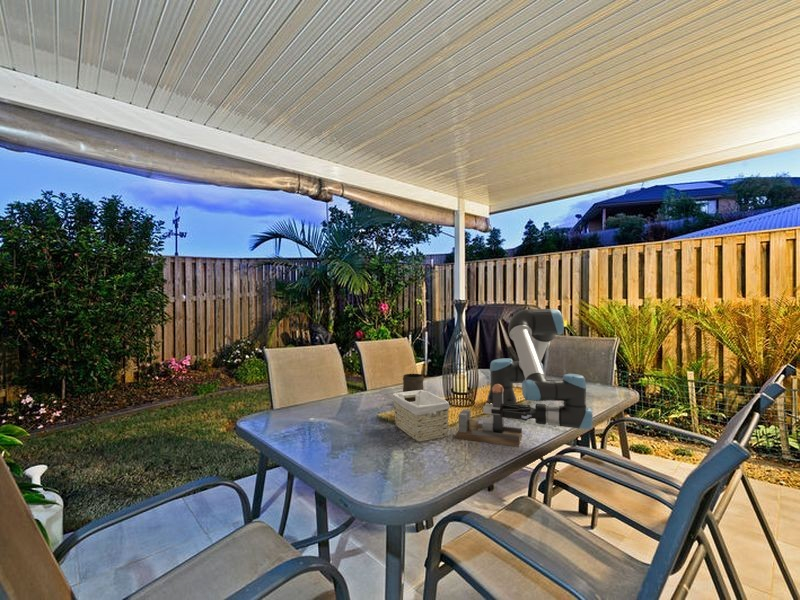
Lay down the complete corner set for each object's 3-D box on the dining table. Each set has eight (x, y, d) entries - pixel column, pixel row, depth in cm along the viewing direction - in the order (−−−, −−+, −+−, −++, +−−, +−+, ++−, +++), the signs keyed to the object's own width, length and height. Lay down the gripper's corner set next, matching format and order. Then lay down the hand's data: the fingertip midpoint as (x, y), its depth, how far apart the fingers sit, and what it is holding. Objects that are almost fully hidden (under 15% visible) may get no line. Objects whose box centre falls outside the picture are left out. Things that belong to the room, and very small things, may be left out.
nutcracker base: (463, 428, 160) (463, 407, 160) (522, 436, 150) (521, 413, 150) (456, 438, 149) (456, 415, 149) (518, 446, 139) (518, 422, 139)
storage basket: (451, 437, 150) (451, 401, 150) (415, 444, 143) (415, 406, 143) (423, 420, 172) (423, 388, 172) (391, 426, 165) (390, 392, 165)
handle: (485, 428, 153) (484, 381, 153) (505, 430, 150) (504, 382, 150) (482, 433, 147) (481, 384, 147) (503, 436, 144) (502, 386, 144)
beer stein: (421, 420, 172) (421, 376, 173) (399, 418, 175) (399, 375, 177) (429, 413, 186) (429, 372, 188) (409, 411, 190) (409, 371, 191)
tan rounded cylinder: (469, 428, 155) (469, 418, 155) (479, 429, 153) (479, 419, 153) (467, 431, 151) (467, 421, 151) (477, 432, 149) (477, 422, 149)
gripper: (545, 431, 133) (480, 423, 143) (547, 418, 148) (488, 411, 158) (545, 410, 133) (480, 404, 143) (547, 399, 148) (488, 394, 158)
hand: (484, 408), depth 150 cm, fingers closed on handle, 3 cm apart
